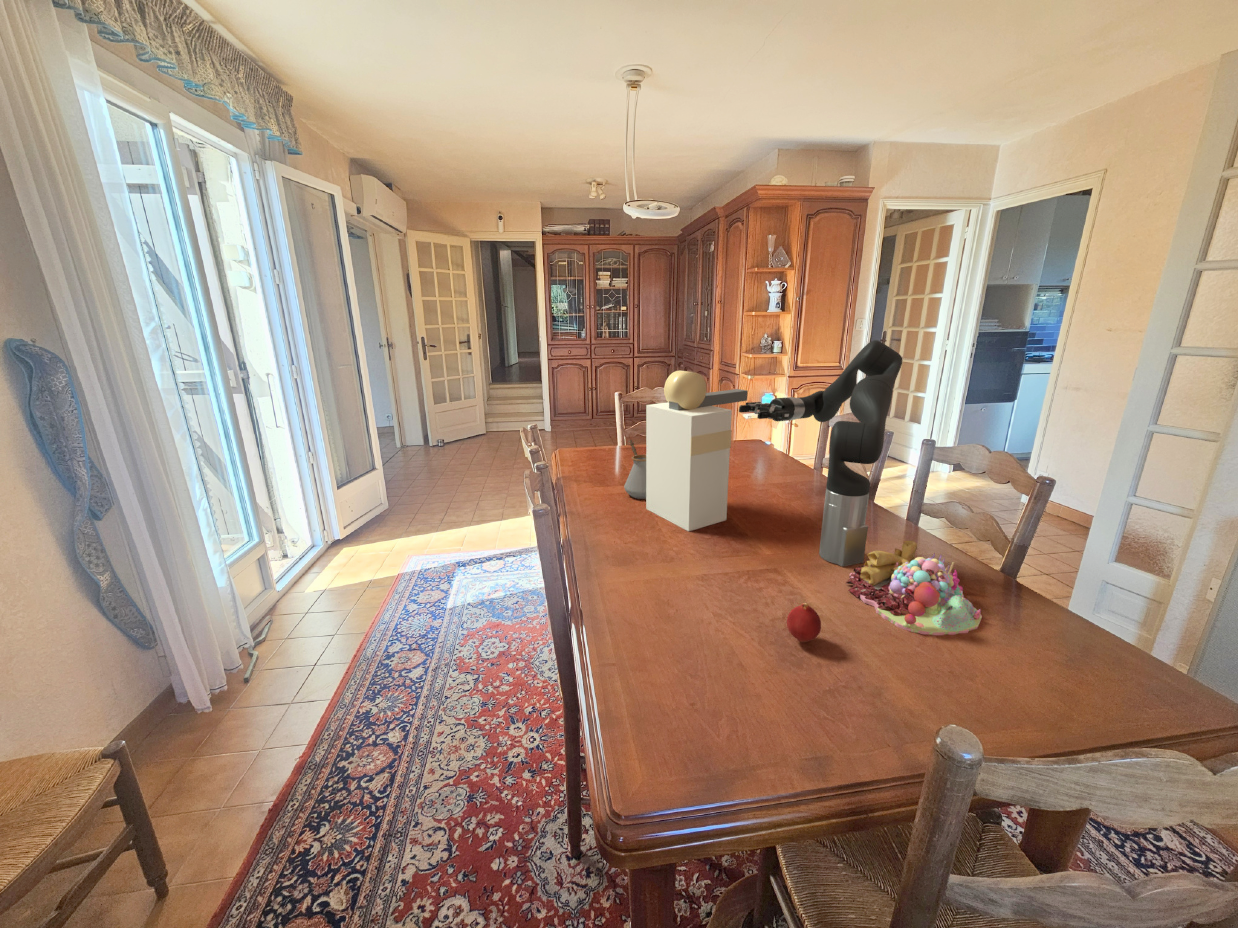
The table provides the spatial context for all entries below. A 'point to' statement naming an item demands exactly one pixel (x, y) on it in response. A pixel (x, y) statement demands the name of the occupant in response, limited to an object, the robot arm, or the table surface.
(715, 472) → the tall box
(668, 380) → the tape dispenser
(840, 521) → the robot arm
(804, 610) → the onion
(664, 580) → the table surface
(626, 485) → the coffee pot
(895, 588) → the candy landscape model
